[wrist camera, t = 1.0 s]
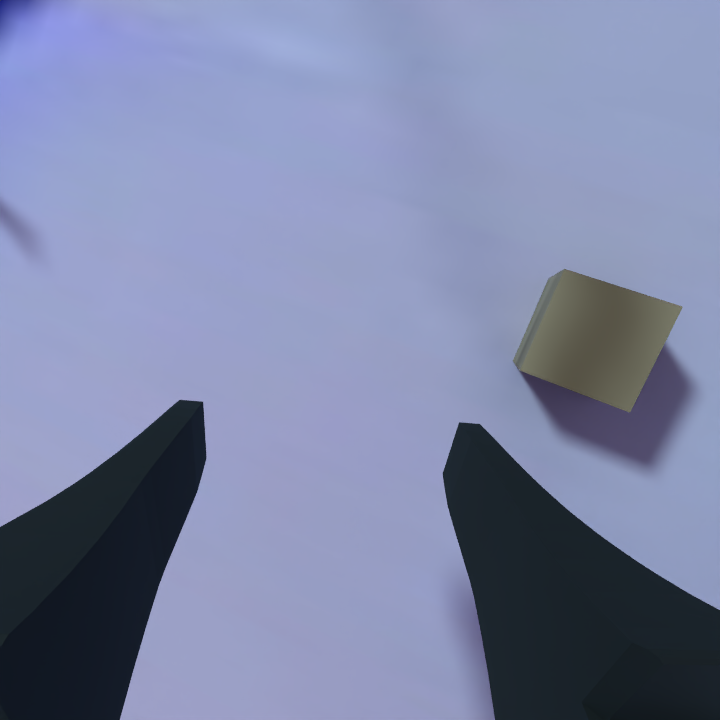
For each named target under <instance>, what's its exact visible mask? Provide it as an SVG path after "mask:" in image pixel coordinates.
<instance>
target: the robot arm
mask: <svg viewBox="0 0 720 720" xmlns="http://www.w3.org/2000/svg"><path fill="white" fill-rule="evenodd" d="M205 461H206V443H205V426H204V410H203V402H199V401H187V400H179V401H178V402H177V403H175V404H174V405H173V406H172V407H171V408H169V409H168V410H167V411H166V412H165V413H164V414H163V415H161V416H160V417H159V418H158V419H157V420H156V421H155V422H153V423H152V424H151V425H150V426H149V427H148V428H146V429H145V430H144V431H143V432H142V433H141V434H139V435H138V436H137V437H136V438H134V439H133V440H132V441H131V442H130V443H128V444H127V445H126V446H125V447H123V448H122V449H121V450H120V451H118V452H117V453H116V454H115V455H113V456H112V457H111V458H109V459H108V460H107V461H105V462H104V463H102V464H101V465H100V466H98V467H97V468H96V469H94V470H93V471H92V472H90V473H89V474H88V475H86V476H85V477H83V478H82V479H80V480H79V481H77V482H76V483H75V484H73V485H71V486H70V487H68V488H67V489H65V490H64V491H62V492H60V493H59V494H57V495H56V496H54V497H52V498H51V499H49V500H48V501H46V502H44V503H43V504H41V505H39V506H37V507H35V508H34V509H32V510H30V511H28V512H26V513H25V514H23V515H21V516H19V517H17V518H16V519H14V520H12V521H10V522H8V523H7V524H5V525H3V526H1V527H0V720H120V717H121V713H122V709H123V706H124V702H125V698H126V695H127V691H128V687H129V684H130V680H131V677H132V673H133V669H134V666H135V662H136V659H137V656H138V652H139V649H140V645H141V642H142V639H143V635H144V632H145V628H146V625H147V622H148V619H149V615H150V612H151V609H152V606H153V602H154V599H155V596H156V593H157V590H158V586H159V584H160V581H161V578H162V576H163V573H164V570H165V568H166V565H167V563H168V560H169V558H170V556H171V553H172V551H173V548H174V546H175V544H176V541H177V539H178V537H179V534H180V532H181V529H182V527H183V525H184V522H185V520H186V518H187V515H188V513H189V510H190V508H191V505H192V503H193V501H194V498H195V496H196V493H197V490H198V487H199V483H200V480H201V476H202V473H203V469H204V465H205ZM443 479H444V486H445V493H446V498H447V504H448V508H449V512H450V516H451V519H452V522H453V526H454V529H455V533H456V536H457V539H458V543H459V546H460V549H461V553H462V556H463V559H464V563H465V566H466V569H467V573H468V576H469V579H470V583H471V587H472V591H473V595H474V599H475V604H476V609H477V614H478V619H479V624H480V629H481V635H482V640H483V646H484V652H485V658H486V663H487V669H488V675H489V682H490V688H491V695H492V702H493V708H494V715H495V720H720V610H718V609H716V608H714V607H713V606H711V605H709V604H707V603H705V602H703V601H702V600H700V599H698V598H696V597H694V596H692V595H691V594H689V593H687V592H685V591H684V590H682V589H680V588H679V587H677V586H675V585H674V584H672V583H671V582H669V581H667V580H666V579H664V578H662V577H661V576H659V575H657V574H656V573H654V572H653V571H651V570H649V569H648V568H646V567H645V566H643V565H642V564H640V563H639V562H637V561H636V560H634V559H633V558H631V557H630V556H628V555H627V554H625V553H624V552H623V551H621V550H620V549H618V548H617V547H615V546H614V545H612V544H611V543H610V542H608V541H607V540H606V539H604V538H603V537H601V536H600V535H599V534H597V533H596V532H595V531H593V530H592V529H591V528H590V527H588V526H587V525H586V524H585V523H583V522H582V521H581V520H580V519H578V518H577V517H576V516H575V515H573V514H572V513H571V512H570V511H568V510H567V509H566V508H565V507H564V506H563V505H561V504H560V503H559V502H558V501H557V500H556V499H555V498H554V497H553V496H551V495H550V494H549V493H548V492H547V491H546V490H545V489H544V488H543V487H542V486H541V485H539V484H538V483H537V482H536V481H535V480H534V479H533V478H532V477H531V476H530V475H529V474H528V473H527V472H526V471H525V470H524V469H523V468H522V467H521V466H520V465H519V464H518V463H517V462H516V461H515V460H514V459H513V458H512V457H511V456H510V455H509V454H508V453H507V452H506V451H505V450H504V448H503V447H502V446H501V445H500V444H499V443H498V442H497V441H496V440H495V439H494V438H493V437H492V436H491V435H490V434H489V433H488V432H487V431H486V430H485V429H484V428H483V427H482V426H481V425H480V424H472V423H460V422H459V425H458V428H457V431H456V434H455V437H454V440H453V443H452V447H451V450H450V453H449V456H448V459H447V462H446V465H445V468H444V472H443Z"/></svg>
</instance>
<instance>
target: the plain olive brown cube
mask: <svg viewBox="0 0 720 720" xmlns="http://www.w3.org/2000/svg"><path fill="white" fill-rule="evenodd" d="M681 309H682V306H679V305H675V304H672V303H669V302H666V301H663V300H660V299H657V298H654V297H651V296H647V295H644V294H641V293H638V292H635V291H632V290H629V289H626V288H622V287H619V286H616V285H613V284H610V283H607V282H604V281H601V280H597V279H594V278H591V277H588V276H585V275H582V274H579V273H576V272H573V271H569V270H566V269H564V270H562V271H560V272H559V273H557V274H555V275H554V276H552V277H551V278H549V279H548V281H547V284H546V286H545V288H544V291H543V293H542V295H541V297H540V300H539V302H538V304H537V307H536V309H535V311H534V314H533V316H532V318H531V321H530V323H529V325H528V327H527V330H526V332H525V334H524V337H523V339H522V341H521V344H520V346H519V348H518V351H517V353H516V355H515V357H514V360H513V362H514V363H515V365H516V366H517V367H518V369H519V370H520V371H522V372H525V373H527V374H530V375H533V376H535V377H538V378H540V379H543V380H546V381H548V382H551V383H554V384H556V385H559V386H561V387H564V388H567V389H569V390H572V391H574V392H577V393H580V394H582V395H585V396H588V397H590V398H593V399H595V400H598V401H601V402H603V403H606V404H609V405H611V406H614V407H616V408H619V409H622V410H624V411H627V412H629V413H630V412H631V410H632V408H633V406H634V404H635V402H636V400H637V398H638V396H639V394H640V392H641V390H642V388H643V386H644V384H645V382H646V380H647V378H648V376H649V374H650V372H651V370H652V368H653V366H654V364H655V362H656V360H657V357H658V355H659V353H660V351H661V349H662V347H663V345H664V343H665V341H666V339H667V337H668V335H669V333H670V331H671V329H672V327H673V325H674V323H675V321H676V319H677V317H678V315H679V313H680V311H681Z"/></svg>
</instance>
